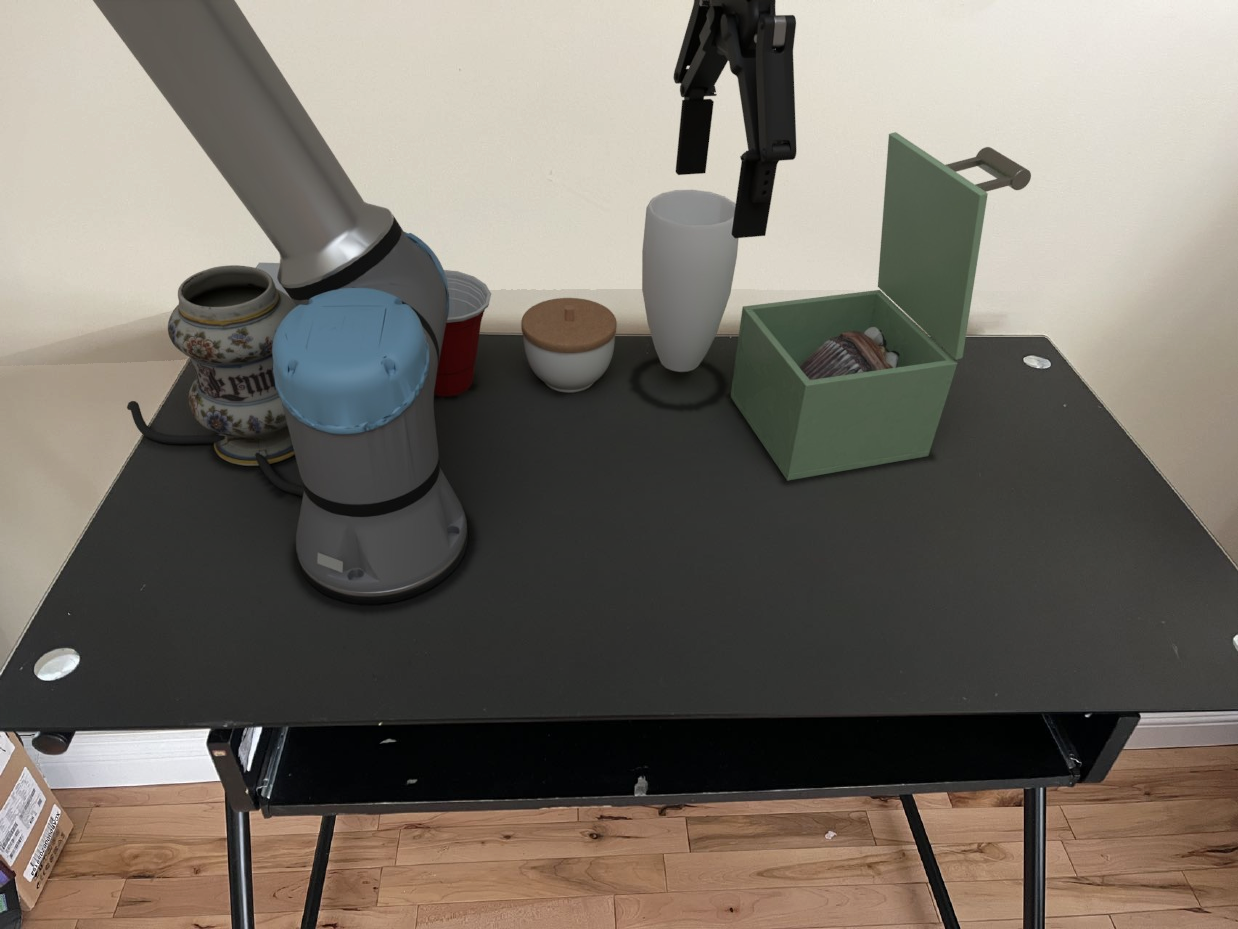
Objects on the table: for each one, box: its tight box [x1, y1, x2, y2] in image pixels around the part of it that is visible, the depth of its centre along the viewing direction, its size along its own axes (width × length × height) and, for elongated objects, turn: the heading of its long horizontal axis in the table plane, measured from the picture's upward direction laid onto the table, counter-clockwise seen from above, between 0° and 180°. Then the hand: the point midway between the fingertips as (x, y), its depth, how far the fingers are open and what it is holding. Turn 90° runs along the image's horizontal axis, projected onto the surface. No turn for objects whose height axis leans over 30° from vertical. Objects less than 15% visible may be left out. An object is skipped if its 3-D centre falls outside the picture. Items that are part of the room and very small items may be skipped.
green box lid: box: [877, 131, 1032, 361], centre depth 90 cm, size 17×16×9 cm
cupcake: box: [799, 327, 900, 380], centre depth 97 cm, size 10×10×10 cm
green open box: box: [730, 289, 958, 481], centre depth 97 cm, size 17×16×12 cm
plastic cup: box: [434, 269, 492, 397], centre depth 101 cm, size 11×11×12 cm
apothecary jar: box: [167, 264, 296, 467], centre depth 90 cm, size 12×12×18 cm
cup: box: [641, 189, 740, 373], centre depth 100 cm, size 10×10×22 cm
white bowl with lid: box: [520, 297, 618, 393], centre depth 104 cm, size 11×11×9 cm
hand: (717, 202), depth 79 cm, fingers open, 13 cm apart
